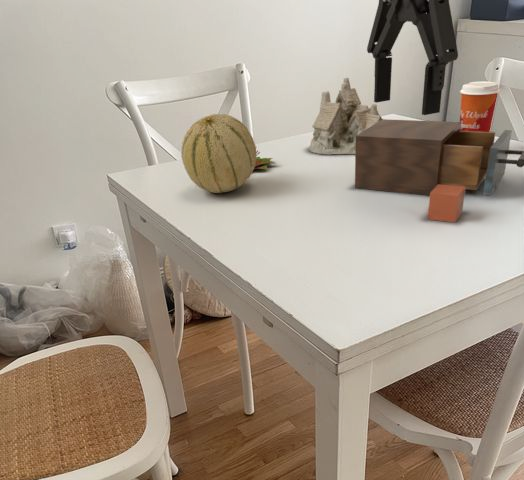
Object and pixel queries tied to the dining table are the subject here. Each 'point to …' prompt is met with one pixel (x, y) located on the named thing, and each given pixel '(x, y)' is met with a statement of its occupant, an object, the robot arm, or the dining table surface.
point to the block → (446, 203)
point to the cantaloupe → (218, 153)
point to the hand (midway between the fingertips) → (404, 107)
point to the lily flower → (262, 162)
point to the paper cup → (478, 105)
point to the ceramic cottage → (341, 122)
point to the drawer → (476, 159)
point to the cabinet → (401, 155)
